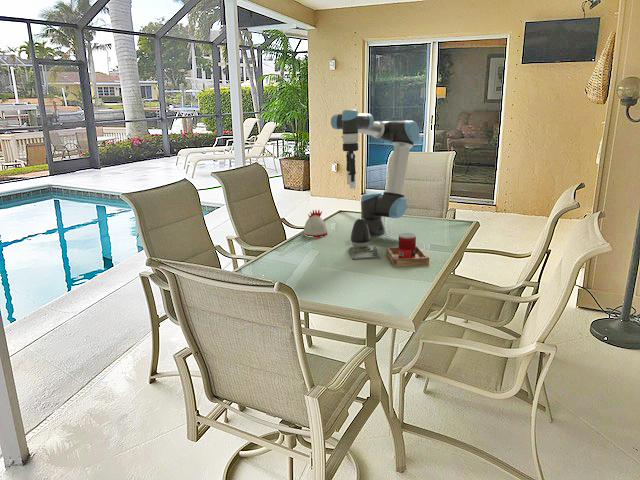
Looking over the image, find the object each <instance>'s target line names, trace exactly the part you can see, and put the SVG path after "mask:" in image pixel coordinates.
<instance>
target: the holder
mask: <svg viewBox="0 0 640 480" xmlns="http://www.w3.org/2000/svg"><path fill="white" fill-rule="evenodd" d="M372 247H373V248H372V249H362V250H358V249H357V250H349V253H348V254H349V255H350V257H351V260H356V261H357V260H372V259H374V260H375V259H381V256H380V254H379V253H378V248H377V246H374V245H373V246H372ZM355 253H372V254H373V255H374V256H359V257H358V256H356V255H355Z"/></svg>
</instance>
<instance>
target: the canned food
mask: <svg viewBox="0 0 640 480" xmlns="http://www.w3.org/2000/svg"><path fill="white" fill-rule="evenodd" d="M416 244H417V235H416V234H415V233H410V232H409V233H406V232H405V233H400V234H399V235H398V247H399V249H398V256H399V258H415V253H416Z"/></svg>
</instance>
